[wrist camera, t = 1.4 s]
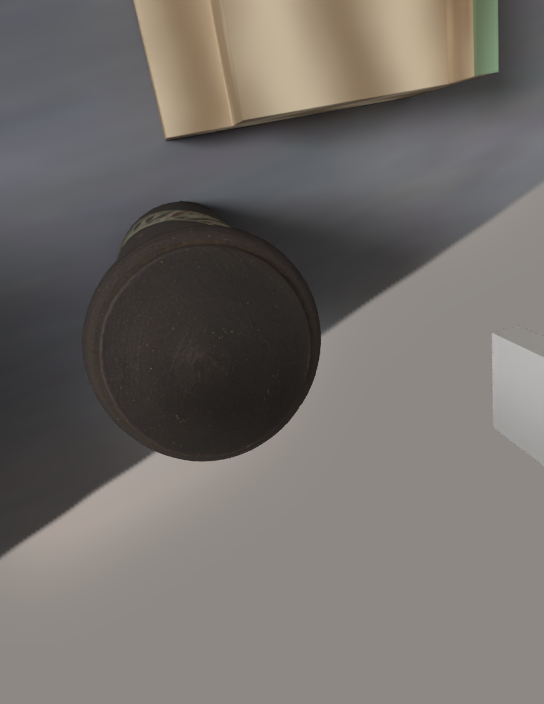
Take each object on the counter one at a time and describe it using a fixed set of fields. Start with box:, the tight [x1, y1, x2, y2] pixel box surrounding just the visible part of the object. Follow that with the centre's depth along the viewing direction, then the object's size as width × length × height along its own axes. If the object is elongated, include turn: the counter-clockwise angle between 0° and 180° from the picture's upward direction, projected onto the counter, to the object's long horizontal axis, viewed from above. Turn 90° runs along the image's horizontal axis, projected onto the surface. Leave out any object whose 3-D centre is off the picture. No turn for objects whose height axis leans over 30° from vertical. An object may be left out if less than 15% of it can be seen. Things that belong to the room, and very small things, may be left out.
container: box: [82, 201, 321, 461], centre depth 27 cm, size 9×9×20 cm
